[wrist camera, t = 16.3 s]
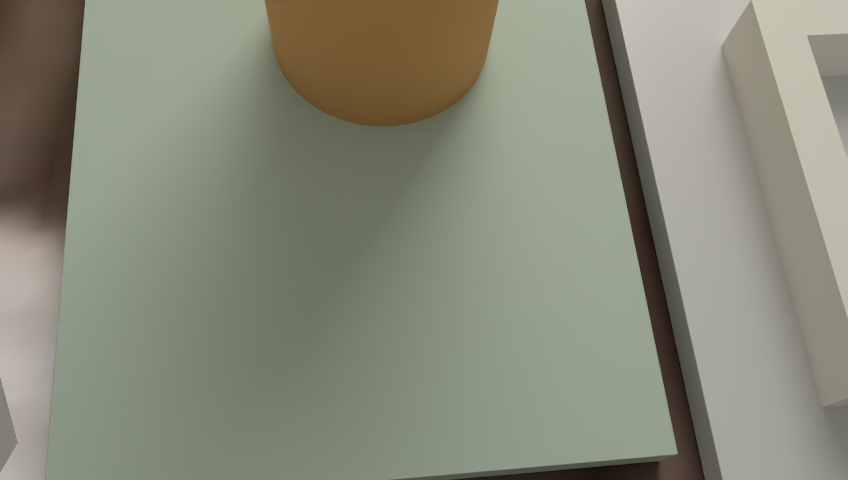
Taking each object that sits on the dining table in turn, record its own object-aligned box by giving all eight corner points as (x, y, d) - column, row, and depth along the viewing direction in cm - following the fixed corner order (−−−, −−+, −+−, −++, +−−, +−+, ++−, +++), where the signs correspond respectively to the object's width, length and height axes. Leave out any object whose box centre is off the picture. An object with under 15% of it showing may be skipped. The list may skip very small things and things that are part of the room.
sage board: (660, 461, 19) (677, 454, 18) (62, 514, 18) (42, 510, 17) (523, -233, 29) (529, -266, 27) (118, -229, 27) (107, -263, 26)
